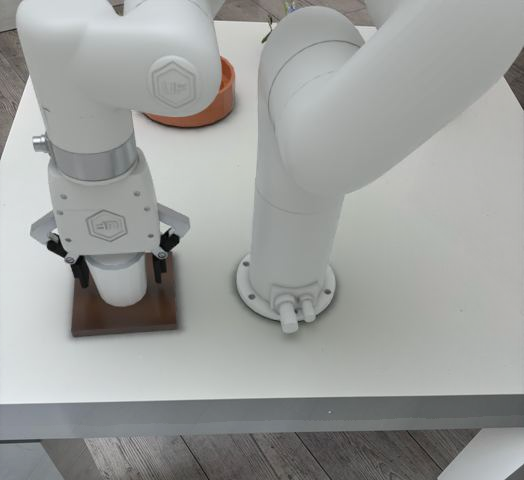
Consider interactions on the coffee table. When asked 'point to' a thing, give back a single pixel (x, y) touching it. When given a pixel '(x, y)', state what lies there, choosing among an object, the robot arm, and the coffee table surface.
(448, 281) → the coffee table surface
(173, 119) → the bowl
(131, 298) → the white cup
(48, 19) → the robot arm
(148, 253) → the pad
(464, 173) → the coffee table surface
